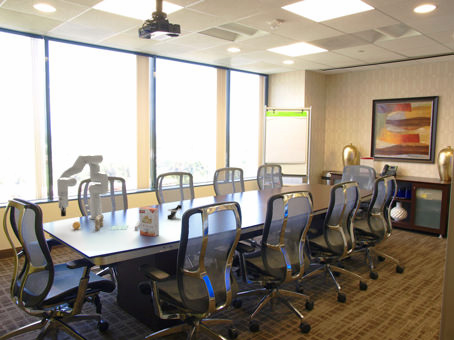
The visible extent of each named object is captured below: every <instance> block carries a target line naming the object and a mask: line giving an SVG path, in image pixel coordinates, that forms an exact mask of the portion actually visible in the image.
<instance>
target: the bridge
mask: <svg viewBox="0 0 454 340" xmlns="http://www.w3.org/2000/svg"><path fill="white" fill-rule="evenodd" d="M103 216H104V214H102V215H98V216H97V217H96V218H95V219H94V231H97V232H98V231H100V227H101V228H103V227H104V217H103Z"/></svg>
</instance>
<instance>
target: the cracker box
mask: <svg viewBox="0 0 454 340" xmlns="http://www.w3.org/2000/svg"><path fill="white" fill-rule="evenodd" d="M159 213H160V212H159V208H157V207H147V206H143V207H142V206H141V207H139V210H138V214H139V216H138V217H139V221H140V226H139V235H141V236H148V237H156V236H159V235H160V231H159V230H160V225H159V222H160V221H159V220H160V218H159Z"/></svg>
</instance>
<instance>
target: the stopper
mask: <svg viewBox="0 0 454 340" xmlns="http://www.w3.org/2000/svg"><path fill="white" fill-rule="evenodd" d="M139 229H140V220H138V221H137V222H136V224H135V226H134V230H135V231H138V230H139Z"/></svg>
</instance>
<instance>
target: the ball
mask: <svg viewBox="0 0 454 340" xmlns="http://www.w3.org/2000/svg"><path fill="white" fill-rule="evenodd" d="M80 228H81V222H79V221H74V222H73V223H72V229H74V230H78V229H80Z"/></svg>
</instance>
